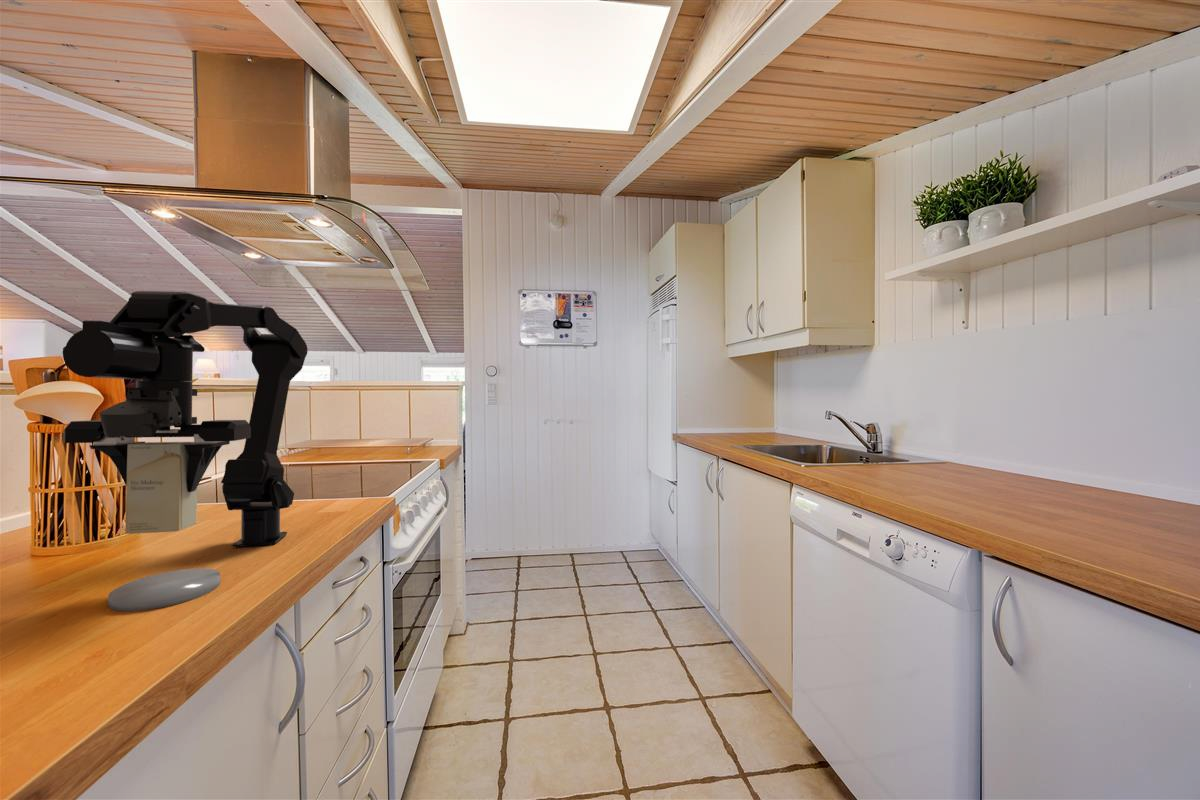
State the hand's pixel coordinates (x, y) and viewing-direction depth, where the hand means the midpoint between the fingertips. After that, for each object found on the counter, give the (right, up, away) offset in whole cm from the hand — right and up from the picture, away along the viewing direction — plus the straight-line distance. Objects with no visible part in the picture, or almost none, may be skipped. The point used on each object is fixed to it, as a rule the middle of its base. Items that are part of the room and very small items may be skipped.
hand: (163, 492), depth 64 cm
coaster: (+2, -13, -2) cm, 14 cm away
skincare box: (0, -5, 0) cm, 5 cm away
